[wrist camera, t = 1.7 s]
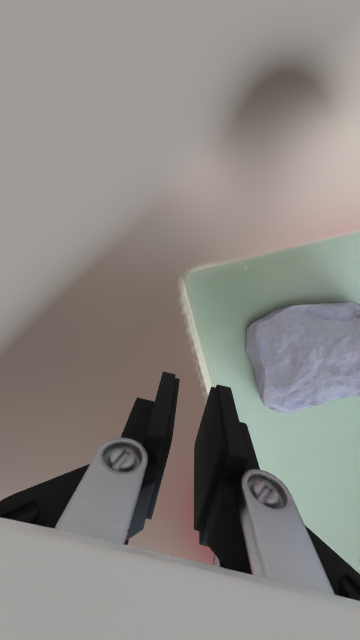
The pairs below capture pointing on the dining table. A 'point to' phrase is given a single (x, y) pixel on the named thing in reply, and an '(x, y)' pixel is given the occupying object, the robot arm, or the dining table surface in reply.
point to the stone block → (306, 355)
